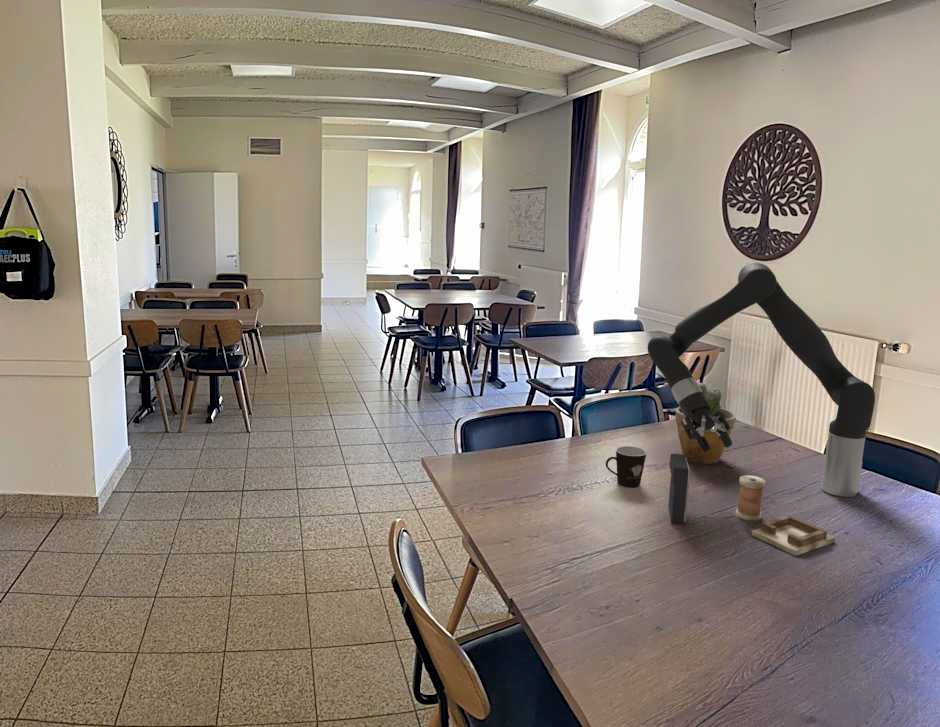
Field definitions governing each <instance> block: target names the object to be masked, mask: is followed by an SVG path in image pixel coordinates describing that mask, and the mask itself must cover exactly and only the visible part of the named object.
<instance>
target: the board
mask: <svg viewBox="0 0 940 727" xmlns="http://www.w3.org/2000/svg"><path fill="white" fill-rule="evenodd" d="M751 536H752V537H755V538H756V539H759V540H760V541H763V542H765V543H767V544H770V545H772V546H773V547H775V546H776V547H775V548H777V549H780V550H782V551H784V552H787V553H788V554H790V555H793V556H794V557H796V556H799V555H803V554H805V553H807V552H811V551H813V550H816V549H819V548H821V547H822V548H823V547H824V546H828V545H831V544H833V543H836V542H835V540H836V537H835V536H833V535H830V534H829V533H828V531H827V530H826V529H823V528H821V527H818V526H816V525H814V524H811V523H808V522H806V521H804V520H801V519H799V518H797V517H796V516H795V517H794V516H792V515H790V514H787V515H783V516H781V517H777V518H774V519H771V520H767V521H765V522H761V527H759V528H756V529H753V530H751Z"/></svg>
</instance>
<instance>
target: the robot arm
mask: <svg viewBox="0 0 940 727" xmlns="http://www.w3.org/2000/svg"><path fill="white" fill-rule="evenodd" d="M755 304H757V305H758V306H759V307H760V308H761V310H762V311H764V313H765V314H766V316H767V317H768V319H769V321H770V322H771V324H772V326H773V327H774V329H775V330H776V332H777V333H778V335H779V336H780V338H781V339H782V340H783V342H784V343H785V345H786V346H788V348H789V349H790V351H792V353H793V354H794V355H795V356H796V357H797V358H798V359H799V360H800V361H801V363H802V364H803V365H805V366H806V367H807V368H808V369H809V370H810V371H811V372H812V373H813V374H814V375H815V377H817V379H818V380H819V382H820V384H821V385H822V387H824V390H825V391H826V392H827V394H828V395H829V398H831V400H832V402H833V403H834V404H836V405H837V412H836V415H835V416H836V417H835V419H833V420H832V421H830V422H829V425H828V426H829V427H828V433H827V434H828V435H827V439H826V440H827V441H826V450H825V456H824V462H823V468H822V469H823V471H822V476H821V477H822V478H821V484H820V489H821V490H822V491H824V493H827V494H830V495H834V496H837V497H842V498H843V497H845V498H851V497H856V496H857V494H858V492H859V489H860V488H859V487H860V481H861V474H862V469H863V468H862V467H863V455H864V448H865V442H866V436H867V432H868V431H869V429H870V426H871V423H872V418H873V414H874V410H875V409H874V408H875V404H876V403H875V402H876V394H875V391H874V388H873V386H871V385H870V384H869V383H868V382H865V381H864V380H862V379H860V378H858V377H856V376H855V375H854V373H851V372H850V370H848V368H846V367H845V366H844V364H843V363H842V362H841V361H840V360H839V359H838V357H837V355H836V354H835V352H834V349H833V347H832V345H831V342H830V341H829V339H828V337H827V336H826V335H825V333H824V332H823V331H822V330H821V328H820V327H819V325H817V324H816V322H815V321H814V320H813V318H811V317H810V316H809V315H808V314H807V313H806V312H805V311H804V310H803V308H801V307H800V306H799V305H798V304H797V303H795V301H793V299H791V298H790V296H788V295H787V293H786V292H785V291H784V289H783V287H782V286H781V285H780V284H779V282H778V280H777V277H776V274H774V272H773V271H772V269H771V268H770V266H767V265H766V264H763V263H760V262H751V263H747V264H745V265H744V266H742V268H741V269H740V270H739V273H738V277H737V284H735V285H734V287H732V288H731V289H730V290H729V291H727V292H726V293H725V294H724V295H722V296H720V297H719V298H717V299H716V300H714V301H712V302H710V303H707V304H706V305H704V306H702V307H700V308H698V309H696V310H694V312H692V313H690V314H689V315H688V316H687V317H685V318H684V319H682V320H681V321H680V322H678V324H677V325H675V328H674V332H673V333H672V334H670V335H669V337H666V336H663V335H657V336H654V337H652V338H651V339H650V340H649V341H648V343H647V353H648V355H649V357H650V358H651V361H652V363H653V364H654V365H655V366H656V368H657V369H658V370H659V371H660V373H661V374H662V375H663V377H664V380H665V381H666V383H667V385H668V387H669V389H670V390H671V392H672V395H673V397H674V400H675V401H676V403H677V405H678V407H680V408H681V410H682V412H683V414H684V416H685V418H684V419H682V420H681V423H682V425H683V427H684V429H685V431H686V433H687V435H688V437H689V439H695V440H696V441H698V443H699V445H700V447H701V449H702V450H703V451H704V452H708V451H709V450H710V449H711V447H710V445H709V443H708V442H707V440H706V438H705V437H703V435H704V430H711V431H712V432H716V433H717V434H718V435H720V436H719V437H720V439H721V440H722V442H723V444H724V446H725V448H726V449H727V448H730V447H731V446H733V441H732V439H731V437H730V435H728V434H727V431H728V430H729V429H730V426H729V424H728V423H727V421H726V419H725V418H724V416H723V415H722V413H721V412H720V411H717V412H716V413H712V412H711V411H710V404H709V402H708V400H707V398H706V397H705V395H704V393H703V391H702V390H701V388H700V386H699V385H698V383H699V382H697V381H696V380H695V378H694V375H693V374H692V373H691V370H690V369H689V367H688V366H687V365H686V363H685V362H683V361H682V360H681V359H680V357H681V356H682V355H683V354H684V353H685V352H686V351H687V350H688V349H689V348H690V347H691V345H693V343H696V342H697V341H699V340H700V339H701V338H703V337H704V336H705V335H707V334H708V333H710V332H711V331H712V330H714V329H715V328H717V327H718V326H719V325H721V324H722V323H724V322H725V321H727V320H729V319H731V318H732V317H733V316H735V315H736V314H738V313H740V312H742V311H744V310H745V309H747V308H750V307H751V306H753V305H755ZM714 423H715V424H716V425H715V426H714ZM722 424H724V425H725V427H723V425H722ZM718 428H719V429H720V430H721V431H720V430H718ZM690 430H691V431H692V434H691V432H690Z"/></svg>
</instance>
